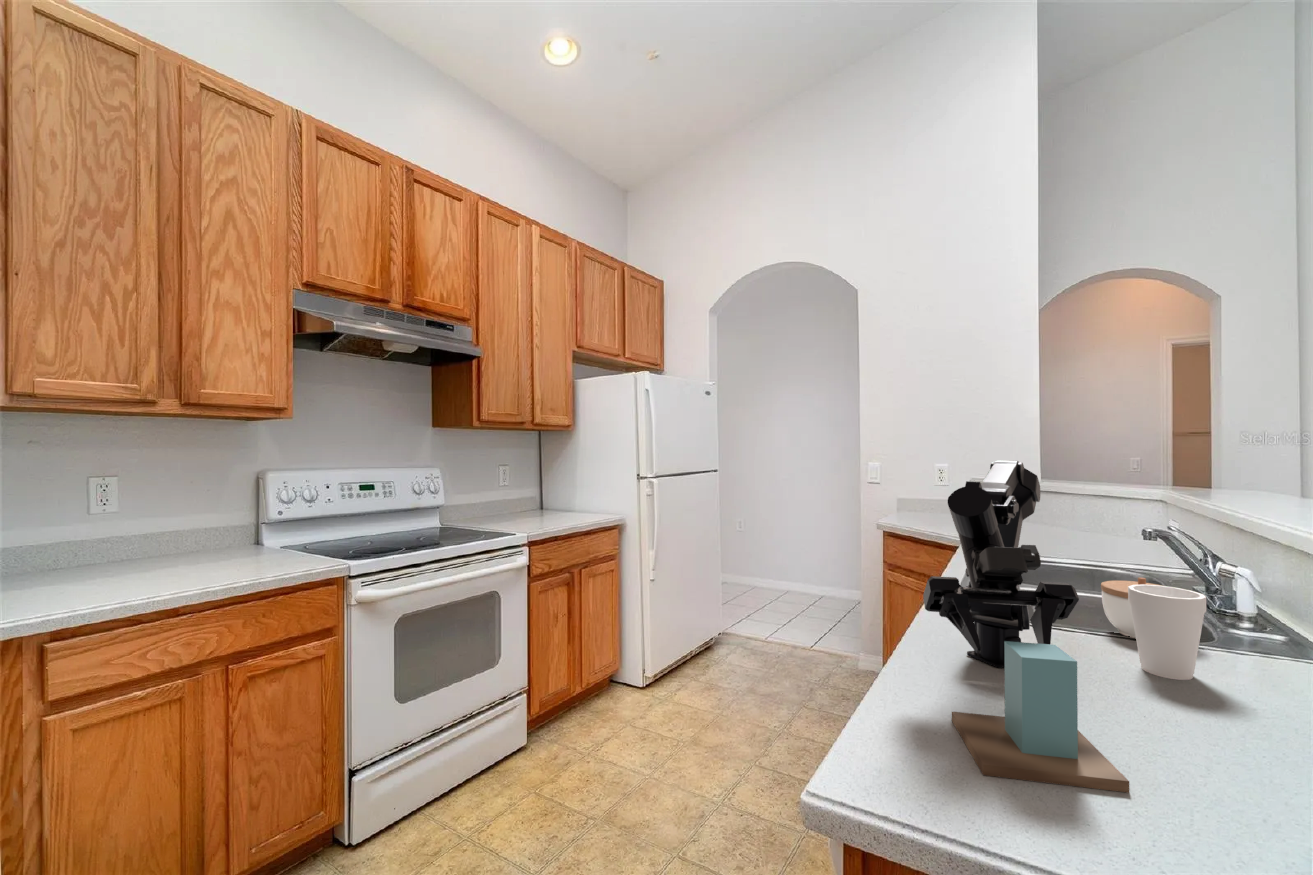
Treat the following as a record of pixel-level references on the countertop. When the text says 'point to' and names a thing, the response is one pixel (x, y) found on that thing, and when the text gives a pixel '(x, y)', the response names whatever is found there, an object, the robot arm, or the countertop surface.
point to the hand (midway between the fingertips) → (1012, 654)
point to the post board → (1033, 757)
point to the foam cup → (1167, 628)
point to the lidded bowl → (1120, 604)
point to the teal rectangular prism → (1041, 699)
